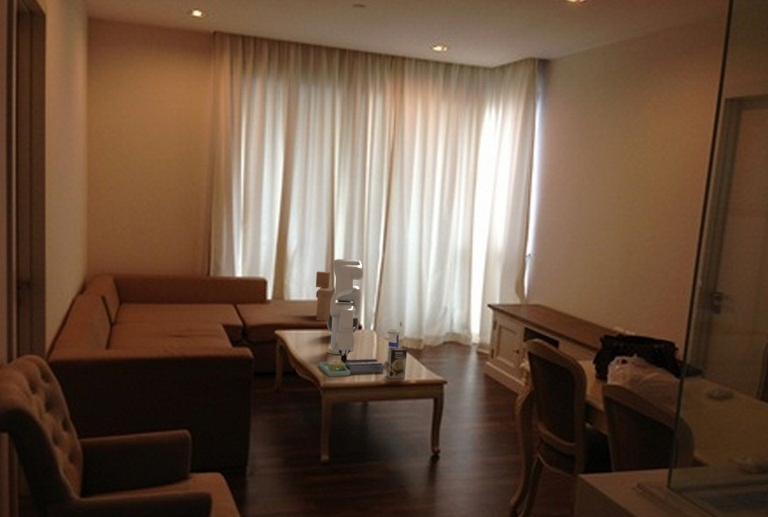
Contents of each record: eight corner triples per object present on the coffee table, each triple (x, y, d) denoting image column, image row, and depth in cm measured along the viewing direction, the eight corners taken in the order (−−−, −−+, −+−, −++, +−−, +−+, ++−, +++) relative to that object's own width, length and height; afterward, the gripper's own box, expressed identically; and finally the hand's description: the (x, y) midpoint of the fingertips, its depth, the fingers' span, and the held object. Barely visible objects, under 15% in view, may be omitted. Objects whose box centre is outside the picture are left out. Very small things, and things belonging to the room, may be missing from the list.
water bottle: (390, 359, 415) (393, 319, 413) (401, 362, 410) (404, 321, 407) (382, 361, 409) (385, 320, 406) (393, 364, 404) (396, 323, 401)
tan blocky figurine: (315, 315, 538) (318, 271, 534) (333, 316, 537) (335, 272, 533) (310, 319, 519) (313, 274, 516) (329, 321, 518) (332, 275, 514)
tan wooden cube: (334, 362, 383) (334, 369, 383) (327, 362, 381) (327, 369, 382) (336, 364, 379) (336, 371, 379) (329, 364, 377) (329, 371, 378)
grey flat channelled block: (341, 367, 390) (342, 358, 390) (374, 365, 398) (375, 357, 397) (349, 373, 377) (350, 365, 377) (383, 372, 385) (383, 364, 384)
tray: (318, 366, 388) (318, 362, 388) (338, 365, 393) (339, 361, 393) (328, 376, 370) (329, 371, 370) (349, 375, 374) (350, 371, 374)
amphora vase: (356, 342, 454) (359, 301, 451) (324, 340, 454) (327, 299, 451) (358, 335, 475) (361, 296, 472) (327, 333, 475) (330, 294, 472)
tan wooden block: (338, 359, 383) (343, 363, 384) (334, 365, 383) (340, 369, 384) (340, 361, 379) (346, 365, 381) (336, 367, 379) (342, 371, 380)
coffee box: (389, 378, 374) (391, 350, 372) (386, 375, 380) (388, 347, 378) (405, 378, 376) (407, 350, 375) (401, 375, 382) (403, 347, 381)
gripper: (356, 328, 387) (353, 359, 389) (330, 328, 382) (328, 360, 383) (360, 331, 380) (358, 363, 382) (334, 331, 375) (332, 364, 377)
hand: (343, 361), depth 383 cm, fingers closed
